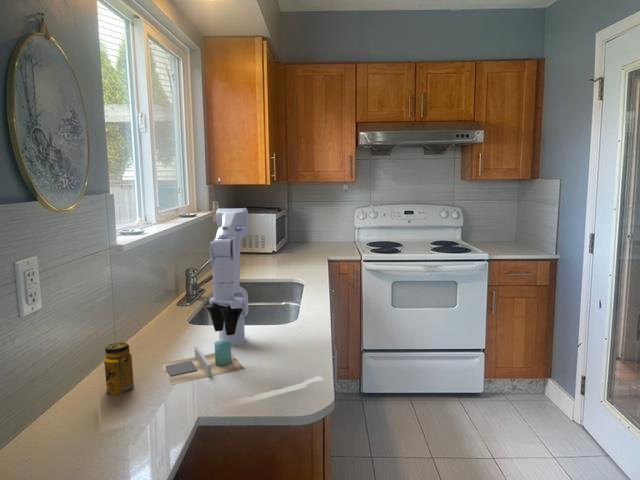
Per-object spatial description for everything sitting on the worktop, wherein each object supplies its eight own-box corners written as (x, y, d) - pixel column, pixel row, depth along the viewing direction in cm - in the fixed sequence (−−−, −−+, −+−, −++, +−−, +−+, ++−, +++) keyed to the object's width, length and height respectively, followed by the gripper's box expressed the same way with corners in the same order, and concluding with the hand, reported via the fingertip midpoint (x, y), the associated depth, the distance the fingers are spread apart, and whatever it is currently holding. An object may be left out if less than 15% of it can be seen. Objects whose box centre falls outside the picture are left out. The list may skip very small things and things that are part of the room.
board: (161, 366, 123) (161, 363, 123) (228, 353, 132) (228, 350, 132) (171, 388, 110) (171, 384, 110) (245, 372, 119) (245, 368, 119)
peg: (213, 362, 123) (212, 341, 123) (228, 358, 125) (228, 338, 125) (217, 367, 120) (216, 346, 119) (233, 364, 122) (232, 343, 121)
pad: (165, 366, 120) (165, 365, 120) (191, 361, 124) (191, 360, 124) (170, 376, 114) (169, 375, 114) (197, 370, 118) (197, 369, 118)
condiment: (98, 396, 107) (94, 348, 105) (127, 381, 114) (123, 336, 113) (120, 402, 104) (117, 352, 102) (148, 386, 111) (145, 340, 110)
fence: (194, 356, 127) (194, 346, 127) (197, 356, 127) (197, 346, 127) (208, 376, 114) (207, 365, 114) (211, 376, 114) (210, 364, 114)
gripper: (199, 282, 124) (200, 331, 124) (220, 285, 113) (221, 338, 112) (223, 281, 129) (223, 328, 128) (245, 283, 117) (246, 335, 117)
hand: (224, 332), depth 121 cm, fingers open, 7 cm apart
